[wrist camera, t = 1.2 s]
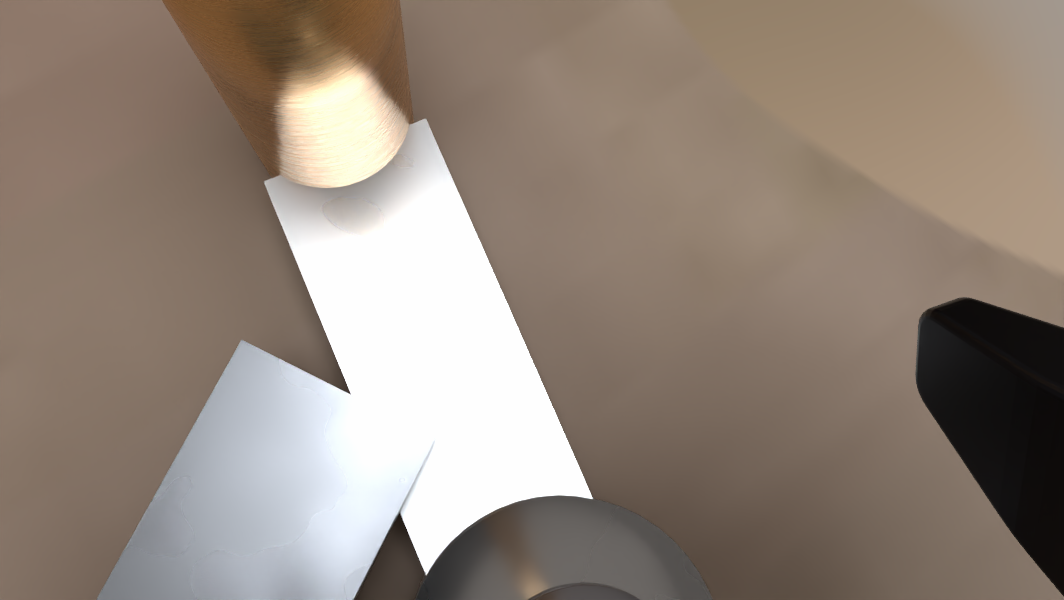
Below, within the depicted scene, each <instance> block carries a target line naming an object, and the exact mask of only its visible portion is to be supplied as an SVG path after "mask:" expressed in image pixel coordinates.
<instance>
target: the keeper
mask: <svg viewBox="0 0 1064 600" xmlns="http://www.w3.org/2000/svg"><path fill="white" fill-rule="evenodd" d="M435 441H436V437H434V436H432V435H430V434H428V433H426V432H424V431H422V430H420V429H418V428H416V427H414V426H412V425H410V424H408V423H406V422H404V421H402V420H400V419H398V418H396V417H394V416H392V415H390V414H388V413H386V412H384V411H382V410H380V409H378V408H376V407H374V406H372V405H370V404H368V403H366V402H364V401H362V400H360V399H358V398H356V397H354V396H352V395H350V394H348V393H346V392H344V391H342V390H340V389H338V388H336V387H334V386H332V385H330V384H329V383H327V382H325V381H323V380H321V379H319V378H317V377H315V376H313V375H311V374H309V373H307V372H305V371H303V370H301V369H299V368H297V367H295V366H293V365H291V364H289V363H287V362H285V361H283V360H281V359H279V358H277V357H275V356H273V355H271V354H269V353H267V352H265V351H263V350H261V349H259V348H257V347H255V346H253V345H251V344H249V343H247V342H245V341H243V340H241V342H240V344H239V345H238V347H237V349H236V351H235V353H234V354H233V356H232V358H231V360H230V362H229V363H228V365H227V367H226V369H225V370H224V372H223V374H222V376H221V378H220V379H219V381H218V383H217V385H216V387H215V388H214V390H213V392H212V394H211V396H210V397H209V399H208V401H207V403H206V404H205V406H204V408H203V410H202V412H201V413H200V415H199V417H198V419H197V421H196V422H195V424H194V426H193V428H192V430H191V431H190V433H189V435H188V437H187V438H186V440H185V442H184V444H183V446H182V447H181V449H180V451H179V453H178V455H177V456H176V458H175V460H174V462H173V464H172V465H171V467H170V469H169V471H168V472H167V474H166V476H165V478H164V480H163V481H162V483H161V485H160V487H159V489H158V490H157V492H156V494H155V496H154V498H153V499H152V501H151V503H150V505H149V507H148V508H147V510H146V512H145V514H144V515H143V517H142V519H141V521H140V523H139V524H138V526H137V528H136V530H135V532H134V533H133V535H132V537H131V539H130V541H129V542H128V544H127V546H126V548H125V549H124V551H123V553H122V555H121V557H120V558H119V560H118V562H117V564H116V566H115V567H114V569H113V571H112V573H111V575H110V576H109V578H108V580H107V582H106V583H105V585H104V587H103V589H102V591H101V592H100V594H99V596H98V598H97V600H355V599H356V597H357V595H358V593H359V591H360V589H361V587H362V585H363V583H364V581H365V579H366V578H367V576H368V574H369V572H370V570H371V568H372V566H373V564H374V562H375V560H376V558H377V556H378V554H379V552H380V550H381V548H382V546H383V544H384V542H385V540H386V538H387V536H388V534H389V532H390V530H391V528H392V526H393V524H394V522H395V520H396V518H397V516H398V514H399V512H400V510H401V509H402V507H403V505H404V503H405V501H406V499H407V497H408V495H409V493H410V491H411V489H412V487H413V485H414V483H415V481H416V479H417V477H418V475H419V473H420V471H421V469H422V467H423V465H424V463H425V461H426V459H427V457H428V455H429V453H430V451H431V449H432V447H433V445H434V443H435Z"/></svg>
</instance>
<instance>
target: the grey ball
mask: <svg viewBox="0 0 1064 600" xmlns="http://www.w3.org/2000/svg"><path fill="white" fill-rule="evenodd" d="M527 600H640V599H639V598H637V597H635V596H634V595H632V594H630V593H628V592H626V591H623V590H621V589H618V588H615V587H612V586H609V585H604V584H598V583H585V582H579V583H569V584H564V585H560V586H555V587H552V588H550V589H547V590H544V591H542V592H540V593H538V594H536V595H534V596H532V597H531V598H529V599H527Z"/></svg>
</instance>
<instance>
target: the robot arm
mask: <svg viewBox="0 0 1064 600" xmlns="http://www.w3.org/2000/svg"><path fill="white" fill-rule="evenodd" d="M916 384H917V388H918V391H919V394H920V396H921V398H922V400H923V402H924V403H925V405H926V407H927V408H928V410H929V411H930V413H931V414H932V416H933V417H934V419H935V420H936V422H937V423H938V425H939V426H940V428H941V429H942V431H943V432H944V434H945V435H946V437H947V438H948V440H949V441H950V443H951V444H952V445H953V447H954V448H955V450H956V451H957V453H958V454H959V456H960V457H961V459H962V460H963V462H964V463H965V465H966V466H967V468H968V469H969V471H970V472H971V474H972V475H973V477H974V478H975V480H976V481H977V483H978V484H979V486H980V487H981V489H982V490H983V492H984V493H985V495H986V496H987V498H988V499H989V501H990V502H991V504H992V505H993V507H994V508H995V510H996V511H997V513H998V514H999V516H1000V517H1001V518H1002V520H1003V521H1004V523H1005V524H1006V526H1007V527H1008V528H1009V530H1010V531H1011V533H1012V534H1013V535H1014V537H1015V538H1016V539H1017V540H1018V542H1019V543H1020V544H1021V545H1022V547H1023V548H1024V549H1025V550H1026V552H1027V553H1028V554H1029V555H1030V557H1031V558H1032V559H1033V560H1034V561H1035V563H1036V564H1037V565H1038V566H1039V567H1040V569H1041V570H1042V571H1043V572H1044V573H1045V575H1046V576H1047V577H1048V578H1049V579H1050V581H1051V582H1052V583H1053V584H1054V585H1055V587H1056V588H1057V589H1058V590H1059V591H1060V593H1061V594H1062V595H1063V596H1064V328H1063V327H1060V326H1057V325H1054V324H1051V323H1048V322H1044V321H1041V320H1038V319H1035V318H1032V317H1029V316H1026V315H1023V314H1019V313H1016V312H1013V311H1010V310H1007V309H1004V308H1001V307H998V306H995V305H991V304H988V303H985V302H982V301H979V300H976V299H972V298H965V297H963V298H957V299H954V300H952V301H949V302H946V303H943V304H941V305H938V306H935V307H932V308H930V309H927V310H926V311H925V312H923V314H922V316H921V317H920V319H919V324H918V340H917V357H916Z"/></svg>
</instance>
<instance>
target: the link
mask: <svg viewBox="0 0 1064 600" xmlns="http://www.w3.org/2000/svg"><path fill="white" fill-rule="evenodd" d="M162 1H163V3H164V4H165V6H166V8H167V9H168V11H169V12H170V14H171V16H172V17H173V19H174V21H175V22H176V24H177V25H178V27H179V29H180V30H181V32H182V33H183V35H184V37H185V38H186V40H187V42H188V43H189V45H190V46H191V48H192V50H193V51H194V53H195V54H196V56H197V58H198V59H199V61H200V63H201V64H202V66H203V67H204V69H205V71H206V72H207V74H208V75H209V77H210V79H211V80H212V82H213V84H214V85H215V87H216V88H217V90H218V92H219V93H220V95H221V97H222V98H223V100H224V101H225V103H226V105H227V106H228V108H229V109H230V111H231V113H232V114H233V116H234V118H235V119H236V121H237V122H238V124H239V126H240V127H241V129H242V130H243V132H244V134H245V135H246V137H247V139H248V140H249V142H250V143H251V145H252V147H253V148H254V150H255V151H256V153H257V155H258V156H259V158H260V160H261V161H262V163H263V164H264V166H265V168H266V169H267V171H268V172H269V174H270V175H271V177H272V178H271V179H269V180H266V181H264V184H265V186H266V189H267V191H268V194H269V196H270V198H271V201H272V203H273V206H274V208H275V211H276V213H277V215H278V218H279V220H280V223H281V225H282V227H283V230H284V232H285V235H286V237H287V240H288V242H289V244H290V247H291V249H292V252H293V254H294V257H295V259H296V261H297V264H298V266H299V269H300V271H301V274H302V276H303V278H304V281H305V283H306V286H307V288H308V290H309V293H310V295H311V298H312V300H313V303H314V305H315V307H316V310H317V312H318V315H319V317H320V320H321V322H322V324H323V327H324V329H325V332H326V334H327V337H328V339H329V341H330V344H331V346H332V349H333V351H334V353H335V356H336V358H337V361H338V363H339V366H340V368H341V370H342V373H343V375H344V378H345V380H346V383H347V385H348V387H349V390H350V392H351V395H352V396H354V397H356V398H358V399H360V400H362V401H364V402H366V403H368V404H370V405H372V406H374V407H376V408H378V409H380V410H382V411H384V412H386V413H388V414H390V415H392V416H394V417H396V418H398V419H400V420H402V421H404V422H406V423H408V424H410V425H412V426H414V427H416V428H418V429H420V430H422V431H424V432H426V433H428V434H430V435H432V436H434V437H436V441H435V443H434V445H433V447H432V449H431V451H430V453H429V455H428V457H427V459H426V461H425V463H424V465H423V467H422V469H421V471H420V473H419V475H418V477H417V479H416V481H415V483H414V485H413V487H412V489H411V491H410V493H409V495H408V497H407V499H406V501H405V503H404V505H403V507H402V509H401V510H400V513H401V516H402V518H403V521H404V523H405V526H406V528H407V530H408V533H409V535H410V538H411V540H412V543H413V545H414V547H415V550H416V552H417V555H418V557H419V559H420V562H421V564H422V567H423V569H424V572H425V574H424V577H423V579H422V581H421V583H420V585H419V588H418V591H417V594H416V597H415V600H527V599H529V598H531V597H532V596H534V595H536V594H538V593H540V592H542V591H544V590H547V589H550V588H552V587H555V586H560V585H564V584H569V583H579V582H585V583H598V584H604V585H609V586H612V587H615V588H618V589H621V590H623V591H626V592H628V593H630V594H632V595H634V596H635V597H637V598H639V599H640V600H712V597H711V595H710V592H709V590H708V588H707V586H706V585H705V583H704V581H703V579H702V577H701V575H700V573H699V572H698V570H697V569H696V568H695V566H694V565H693V563H692V562H691V560H690V559H689V558H688V556H687V555H686V554H685V553H684V552H683V551H682V550H681V548H680V547H679V546H678V545H677V544H676V543H675V542H674V541H673V540H672V539H671V538H670V537H669V536H667V535H666V534H665V533H664V532H663V531H661V530H660V529H659V528H658V527H657V526H655V525H653V524H652V523H650V522H649V521H647V520H646V519H644V518H643V517H641V516H639V515H637V514H635V513H633V512H631V511H629V510H627V509H625V508H623V507H620V506H617V505H614V504H611V503H608V502H604V501H601V500H596V499H593V498H592V496H591V493H590V491H589V489H588V487H587V484H586V482H585V480H584V477H583V475H582V473H581V471H580V468H579V466H578V464H577V462H576V459H575V457H574V455H573V452H572V450H571V448H570V446H569V443H568V441H567V439H566V437H565V434H564V432H563V430H562V427H561V425H560V423H559V421H558V418H557V416H556V414H555V411H554V409H553V407H552V405H551V402H550V400H549V398H548V396H547V393H546V391H545V389H544V386H543V384H542V382H541V380H540V377H539V375H538V373H537V371H536V368H535V366H534V364H533V361H532V359H531V357H530V355H529V352H528V350H527V348H526V345H525V343H524V341H523V339H522V336H521V334H520V332H519V330H518V327H517V325H516V323H515V320H514V318H513V316H512V314H511V311H510V309H509V307H508V305H507V302H506V300H505V298H504V295H503V293H502V291H501V289H500V286H499V284H498V282H497V279H496V277H495V275H494V273H493V270H492V268H491V266H490V264H489V261H488V259H487V257H486V254H485V252H484V250H483V248H482V245H481V243H480V241H479V239H478V236H477V234H476V232H475V229H474V227H473V225H472V223H471V220H470V218H469V216H468V213H467V211H466V209H465V207H464V204H463V202H462V200H461V198H460V195H459V193H458V191H457V188H456V186H455V184H454V182H453V179H452V177H451V175H450V173H449V170H448V168H447V166H446V163H445V161H444V159H443V157H442V154H441V152H440V150H439V147H438V145H437V143H436V141H435V138H434V136H433V134H432V132H431V129H430V127H429V125H428V122H427V120H426V119H423V120H421V121H418V122H415V123H414V120H413V112H412V103H411V94H410V86H409V77H408V68H407V60H406V51H405V42H404V34H403V25H402V16H401V8H400V0H162Z"/></svg>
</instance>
